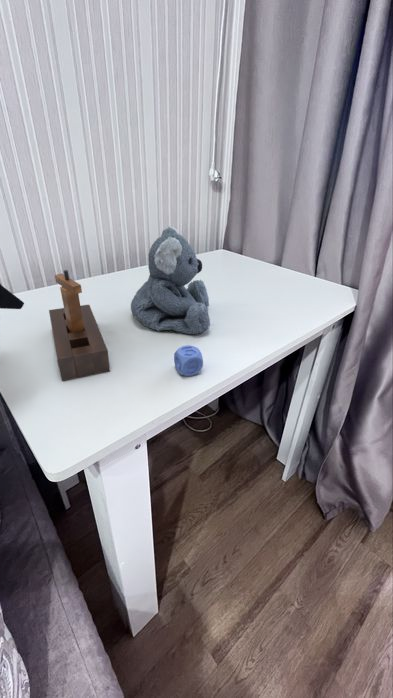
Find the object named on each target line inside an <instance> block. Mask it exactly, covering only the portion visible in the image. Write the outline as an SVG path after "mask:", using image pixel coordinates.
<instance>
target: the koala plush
mask: <svg viewBox="0 0 393 698" xmlns="http://www.w3.org/2000/svg"><path fill="white" fill-rule="evenodd" d="M147 259H148V260H147V261H148V264H147V265H148V273H149V275H148V279H147V281H145V282H144V283H143V284H142V285H141V287H140V288H139V289H137V291H136V292H135V295H134V296H133V298H132V300H131V303H130V311H131V314H132V316H133V317H134V318H135V319H136V320H138V321H139V323H141V324H142V325H143V326H145V327H147V328H150V329H153V330H155V331H158V332H159V331H174V332H177V333H181V334H187V335H198V334H203V333H205V332H206V331H208V330H209V329H210V326H211V319H210V315H209V310H208V309H207V308H208V307H209V306H210V302H209V301H210V300H209V294H208V290H207V287H206V285H205V282H204V281H203V280H202V279H200V280H199V279H198V280H197V279H196V280H193V279H194V278H195V277H196V276H197V274H200V273H201V272H202V271H203V262H202V261H201V259H199V258H198V257H197V255H196V253H195V250H194V249H193V248H192V246H191V245H190V244H189V242H188V240H187V239H186V238H185V236H183V235H182V234H180V233H179V231H178V229H177V228H175V227H173V226H167V227H165V228H164V229H162V232H161V234H160V236H159V237H157V239H156V240H154V241H153V243H152V244H151V246H150V248H149V252H148V258H147ZM186 285H187V288H186Z"/></svg>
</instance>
